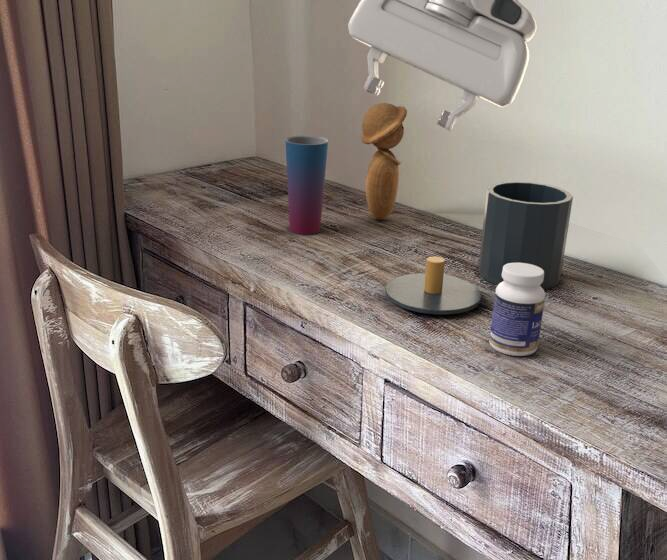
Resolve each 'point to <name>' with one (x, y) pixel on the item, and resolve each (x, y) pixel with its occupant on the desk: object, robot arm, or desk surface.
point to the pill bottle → (518, 310)
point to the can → (524, 229)
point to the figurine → (383, 156)
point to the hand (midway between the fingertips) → (406, 110)
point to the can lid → (433, 291)
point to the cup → (305, 182)
